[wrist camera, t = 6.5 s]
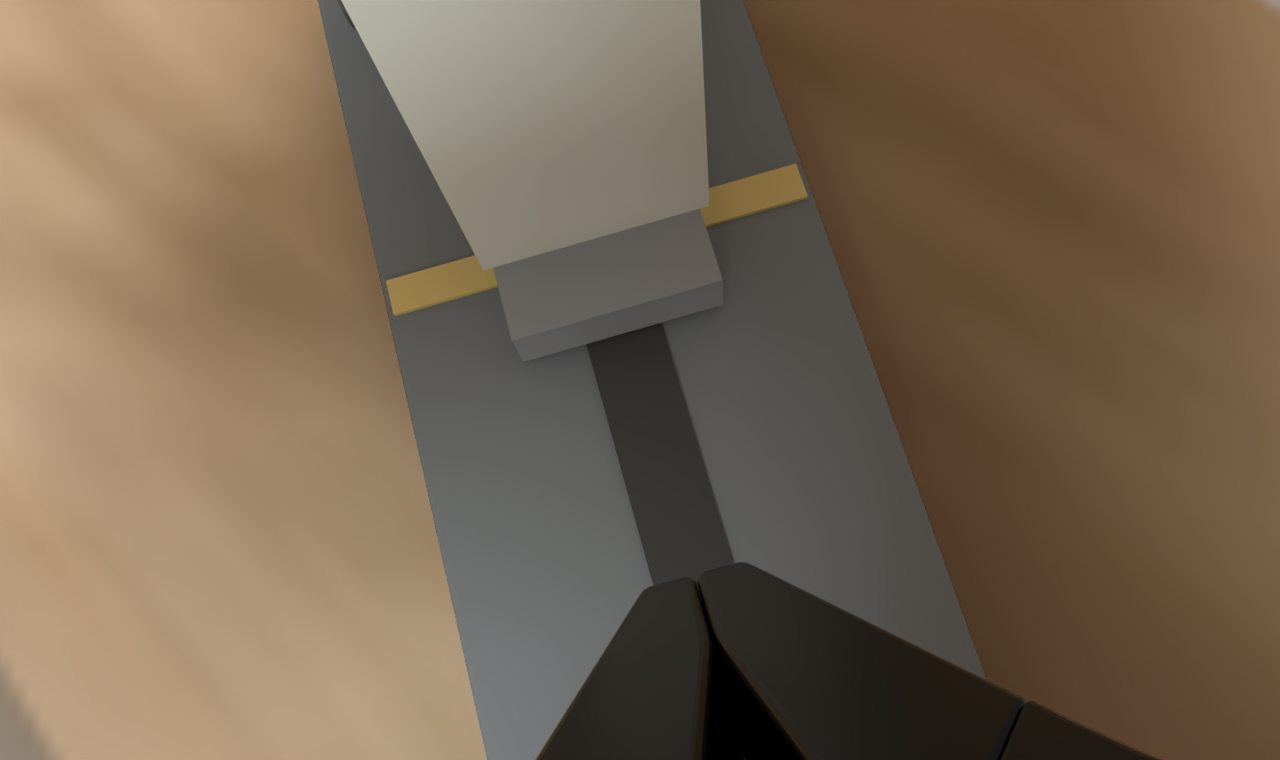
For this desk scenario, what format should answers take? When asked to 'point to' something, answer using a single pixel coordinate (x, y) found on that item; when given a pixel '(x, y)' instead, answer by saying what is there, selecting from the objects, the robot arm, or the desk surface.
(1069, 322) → the desk surface
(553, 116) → the fader tab
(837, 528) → the console
